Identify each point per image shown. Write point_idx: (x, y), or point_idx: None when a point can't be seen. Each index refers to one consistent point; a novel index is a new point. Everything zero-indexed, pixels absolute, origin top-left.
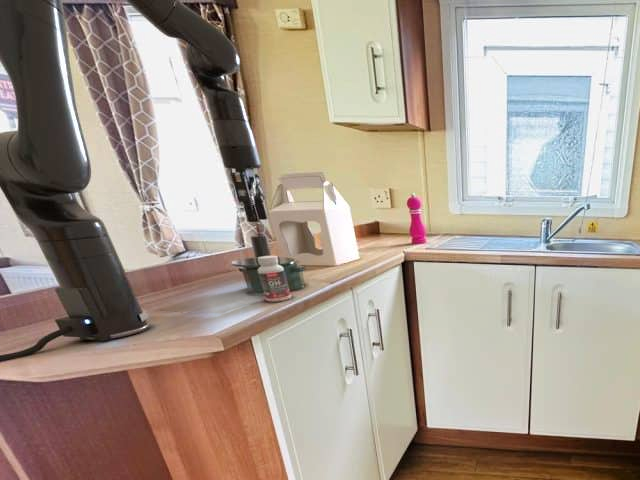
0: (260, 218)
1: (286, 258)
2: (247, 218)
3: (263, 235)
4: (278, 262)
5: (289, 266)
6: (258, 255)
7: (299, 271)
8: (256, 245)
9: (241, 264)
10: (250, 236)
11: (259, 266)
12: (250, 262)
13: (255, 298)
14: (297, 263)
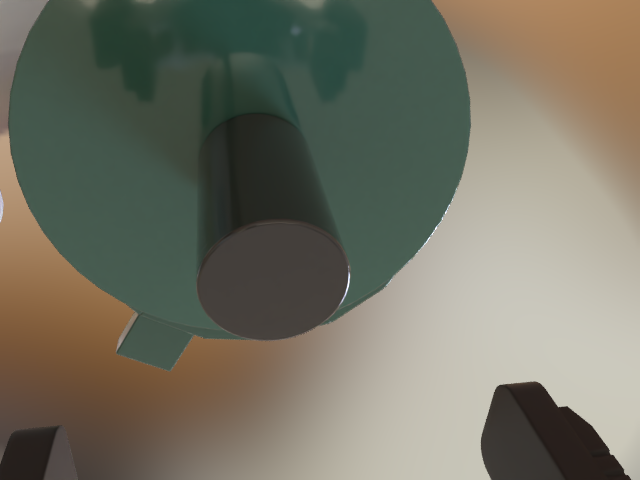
0: (498, 413)
1: (364, 271)
2: (5, 459)
3: (336, 306)
4: (169, 269)
5: (141, 311)
6: (199, 176)
7: (119, 337)
8: (198, 223)
9: (54, 44)
10: (245, 226)
11: (23, 181)
12: (173, 89)
13: (5, 47)
14: (223, 337)
